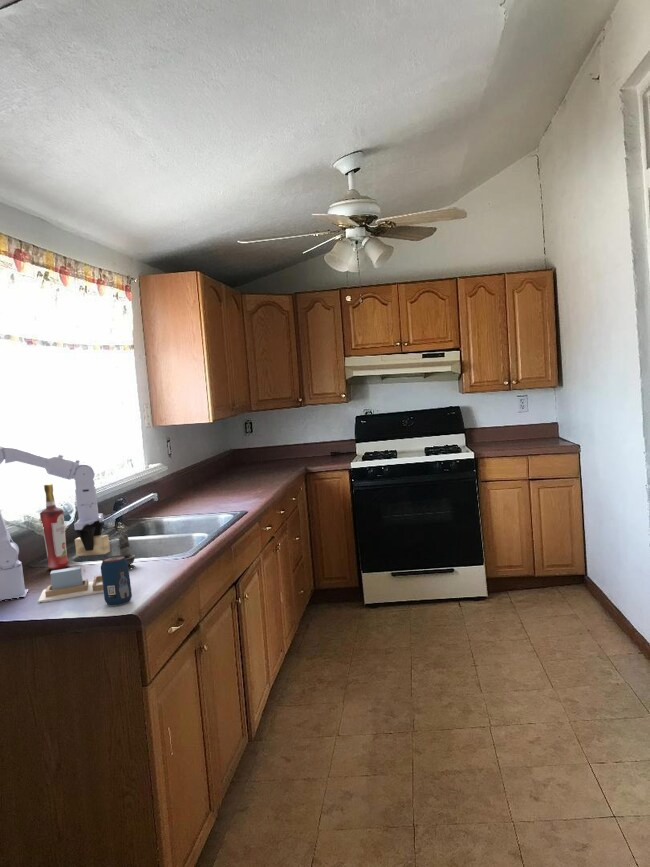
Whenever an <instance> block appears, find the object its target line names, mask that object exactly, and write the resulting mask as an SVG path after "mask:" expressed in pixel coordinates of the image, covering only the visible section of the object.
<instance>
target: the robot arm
mask: <svg viewBox="0 0 650 867" xmlns="http://www.w3.org/2000/svg"><path fill="white" fill-rule="evenodd" d="M3 462H4V464H8V463H9V464H10V463H14V462H19V463H23V464H26V465H31V466H36V467H40V468H43V469H45V471H46V472H47V475H51V476H55V477H59V478H62V479H66V480H74V483H75V484H74V485H75V490H74V491H75V499H76V507H77V515H78V519H77V520H76V522H74V524H73V525H74V526H73V527H74V531H75V533H76V534H77V535H78V536H79V537H80V538H81V540H82V542H83V545H84V547H85V550H86V551H90V550H93V547H94V541H93V538H94V536H98V535H102V532H103V528H104V526H105V522H104V513H99V506H98V499H97V490H96V486H95V480H94V478H95V471H94V469H93V468H92V467H91V466H90V465H89V464H87V463H85V462H81V461H80V460H79V459H76V460H73V459H70V458H66V457H64V455H63V454H58V455H57V454H56V455H52V456H50V457H47V456H46V457H45V456H43V455H40V454H36V453H33V452H31V451H27V450H24V449H21V448H18V447H15V446H14V447H13V446H8V445H0V465H1V464H2V463H3ZM79 537H78V538H79ZM19 554H20V548H19V545H18V543H16V542H14V541H13V538H12V536H11V534H10V532H9V531H8V528H7V526H6V523H5V520H4V517H3V515H2V511H0V599H2V600H3V599H11V598H17V599H20V598H19V597H24V598H26V596H27V594H28V593H27V592H29V591H28V590H29V588H27V589H26V586H25V579H24V577H25V576H24V573H23V572H24V571H23V564H22V561H20V560H19ZM11 600H12V599H11Z"/></svg>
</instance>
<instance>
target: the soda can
mask: <svg viewBox="0 0 650 867" xmlns="http://www.w3.org/2000/svg"><path fill="white" fill-rule="evenodd" d="M100 572H101V573H100V575H102V583H103V591H104V592H103V598H104V602H105V604H107V606H108V607H117V606H119V605H120V606H124V605H127V604H128V602H129V601H130V602H131V600H132V597H133V593H132V585H131V584H132V583H131V578H130V569H129V568H128V562H127V561H126V559H125V556H122V555H120V554H119V555H111V556H108V557H104V558H102V560H101V565H100ZM130 602H129V603H130ZM126 603H127V604H126ZM123 604H124V605H123ZM120 606H119V607H120Z"/></svg>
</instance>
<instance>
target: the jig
mask: <svg viewBox="0 0 650 867" xmlns="http://www.w3.org/2000/svg"><path fill="white" fill-rule="evenodd" d="M100 593H101V594H102V593H103V594H104V591H103V583H102V575H101V574H100V575H96V576H94V577H93V581H89V580H88V579H83V585H80V586H74V587H68V588H61V589H55V590H52V584H51V585H48V586H47V587H46V588H45V589H43V590H42V592H41V594H40V596H39V598H38V600H37V603H38V604H41V603H40V602H42V603H47V602H54V601H58V600H59V601H60V600H66V599H71V598H78V597H83V596H88V595H89V596H90V595H95V594H96V595H97V594H100Z"/></svg>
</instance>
